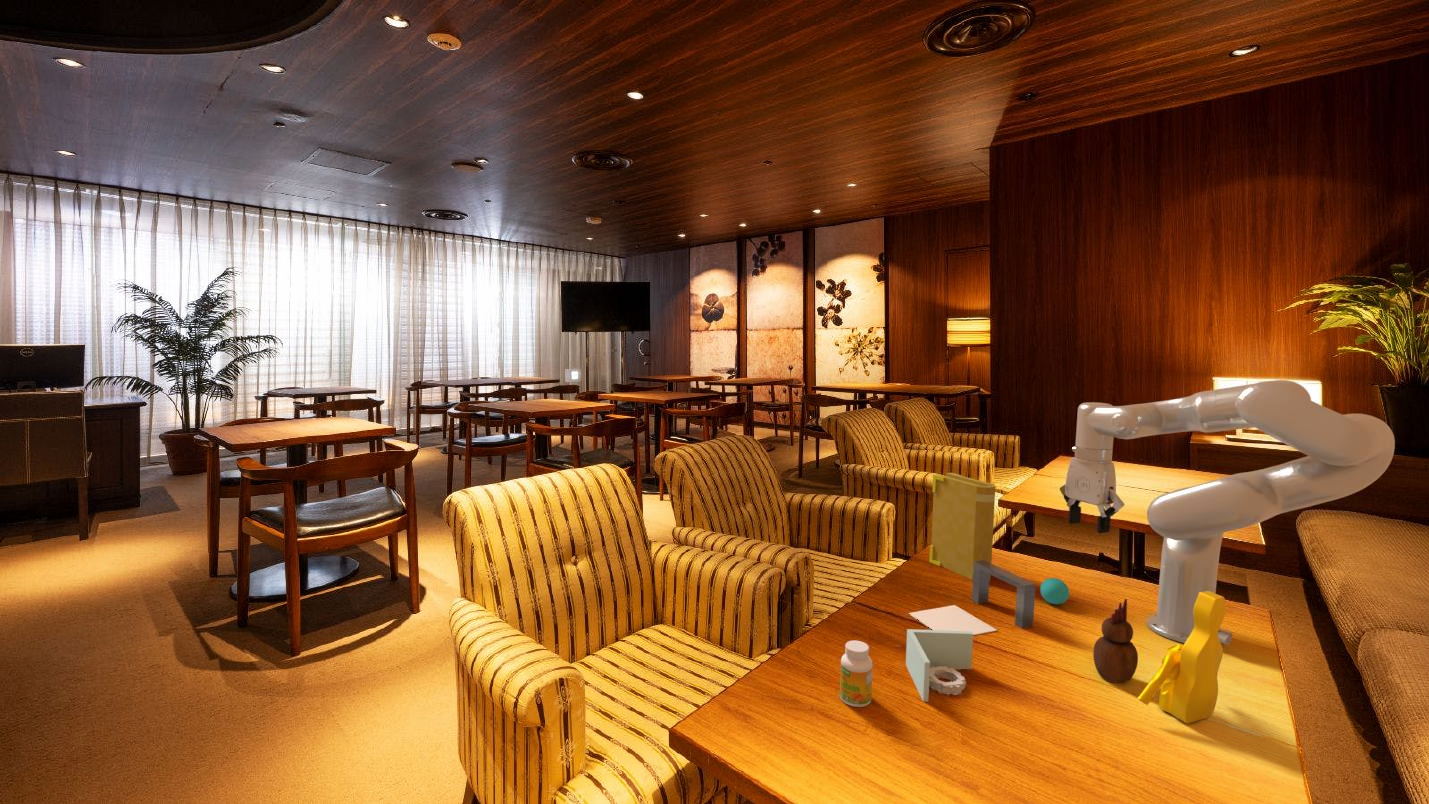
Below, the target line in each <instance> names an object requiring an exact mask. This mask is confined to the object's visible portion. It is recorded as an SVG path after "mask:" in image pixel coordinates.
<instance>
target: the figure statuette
mask: <svg viewBox="0 0 1429 804" xmlns="http://www.w3.org/2000/svg"><path fill="white" fill-rule="evenodd" d="M1225 615H1226V599H1225V597H1224V596H1223V595H1219V594H1217V593H1213V592H1210V591H1205V592H1200V593H1199V595H1198V597H1197V600H1196V602H1195V605H1194V609H1193V617H1194V629H1193V631H1192V633H1191V634H1190V636H1189V638H1188V639H1187V641H1186V642H1185V643H1182V644H1181V643H1180V644H1175V645H1171V646H1170V647H1168V648H1166V649H1165V650H1166V652H1167V653H1166V654H1165V655H1164V657H1163V659H1162V660H1161V666H1160V667H1159V669H1158V670H1157V671H1156V673H1155V675H1154V676H1153V677H1152V678H1151V680H1150V681H1149V683H1148V684H1147V685H1146V687H1144V689H1143V690H1142V692H1141V693H1140V694H1139V696H1138V697H1137V700H1139V701H1140V702H1142V703H1143V704H1145V706H1148V705H1149V704H1150V702H1151V701H1152V699H1153V697H1154V696H1155V695H1156V693H1157V692H1158V691H1159V689H1160V691H1159V699H1158V706H1159V708H1160V709H1161V710H1162V711H1164V712H1165V713H1166V712H1167V713H1169V714H1171V715H1172V716H1174V717H1176V718H1177V719H1178V720H1180V721H1181V722H1183V723H1185V724H1191V723H1194V722H1197V721H1201V720H1204V719H1207V718H1209V717H1211V716H1212V715H1213V713H1214V711H1215V708H1216V705H1217V701H1218V694H1219V683H1218V672H1219V670H1220V666H1221V663H1222V660H1223V654H1224V649H1223V645H1222V643H1221V642H1220V640H1219V637H1218V630H1219V628H1220V629H1221V626H1222V623H1223V621H1224V617H1225Z"/></svg>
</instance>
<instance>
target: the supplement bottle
mask: <svg viewBox="0 0 1429 804" xmlns="http://www.w3.org/2000/svg"><path fill="white" fill-rule="evenodd" d="M844 646H845V649H844V650H845V651H844V652H845V653H844V654H843V655H842V656H841V659H840V676H839V677H840V680H839V682H840V683H839V697H840V700H841V701H842V702H843V703H844V704H846V705H848V706H850V707H855V708H863V707H867V706H869V705H870V704H871V702H872V696H873V695H872V692H873V667H874V666H873V661H872V658H871V657H870V656H869V654H870V647H869V644H867V643H866V642H863V641H860V640H849V641H847V642H846V643H845V645H844Z"/></svg>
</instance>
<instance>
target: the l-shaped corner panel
mask: <svg viewBox="0 0 1429 804" xmlns="http://www.w3.org/2000/svg"><path fill="white" fill-rule="evenodd" d="M973 640H974V636H973V633H972V632H971V631H946V630H931V629H914V628H913V629H911V628H909V629H908V628H906V649H905V651H906V653H905V666H906V668H907V670H908V672H909V674H910V677H911V679H912V681H913V683H914V685H915V687H916V689H917V691H918V693H919V696H920V697H921V699H922V701H923V703H924V702H926V703H927V702H928V703H929V699H930V698H929V697H930V696H929V695H930V694H929V693H930V689H931V690H932V691H937V692H938V694H944V695H946V694H947V696H950V695H952V694H953V696H955V695H956V696H957V695H962V691H963V690H965V688H966V686H967V684H968V683H967V681H966V679H965V676H963V675H961V674H962V673H961V672H959V671H957V670H961V669H971V670H972V660H973V643H974V642H973ZM941 677H944V678H943V679H945V678H947V679H949V680H948V681H947V682H946V681H943V680H940V679H942V678H941ZM947 679H946V680H947ZM950 680H951V681H950ZM952 681H953V682H952ZM949 694H950V695H949Z"/></svg>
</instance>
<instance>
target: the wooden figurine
mask: <svg viewBox="0 0 1429 804" xmlns="http://www.w3.org/2000/svg"><path fill="white" fill-rule="evenodd" d="M1127 601H1128V599H1127V598H1125V599H1124V602H1123V605H1122V602H1119V603H1118V607H1117V608H1115V609H1114V613H1111V616H1110V617H1106V618H1105V619H1104V620H1103V622H1102V624H1101V633H1102V635H1103V636H1100V637H1099V638H1098V639H1097V640H1096V641H1095V643H1094V646H1093V653H1092V654H1093V655H1092V656H1093V662H1094V666H1095V669H1096V671H1097V673H1098V675H1099V676H1100V677H1101V678H1102V679H1104V680H1106V681H1108V682H1113V683H1120V684H1121V683H1126V682H1129V681H1130V680H1131V679H1132V678H1133V676H1134V675H1135V673H1136V670H1137V669H1138V662H1139V654H1138V651H1137V648H1136V646H1135V645H1134V643H1133V642H1132V640H1133V637H1134V629H1133V626H1132V625H1131V623H1130V622H1128V620H1127V618H1128V617H1127V615H1128V613H1127V612H1128V610H1127V609H1128V602H1127Z"/></svg>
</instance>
